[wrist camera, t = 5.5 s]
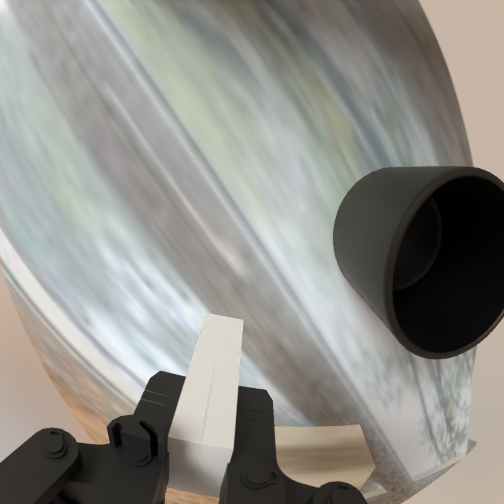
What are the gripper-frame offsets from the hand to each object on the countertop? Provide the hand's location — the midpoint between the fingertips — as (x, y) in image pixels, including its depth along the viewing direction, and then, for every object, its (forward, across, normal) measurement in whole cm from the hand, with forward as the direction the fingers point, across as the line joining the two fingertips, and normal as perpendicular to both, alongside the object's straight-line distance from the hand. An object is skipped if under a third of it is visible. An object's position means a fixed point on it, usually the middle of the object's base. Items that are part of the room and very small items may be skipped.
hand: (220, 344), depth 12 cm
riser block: (+9, +9, -20) cm, 23 cm away
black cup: (+9, +12, +6) cm, 16 cm away
